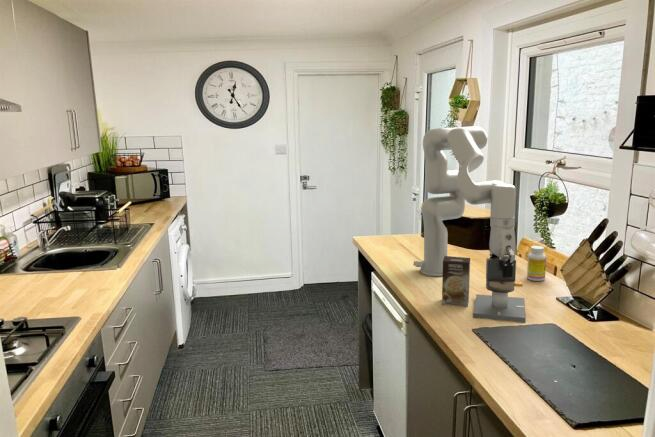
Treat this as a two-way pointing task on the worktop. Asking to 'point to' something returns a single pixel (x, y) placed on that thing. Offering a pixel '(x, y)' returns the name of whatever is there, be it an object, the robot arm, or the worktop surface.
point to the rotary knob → (499, 277)
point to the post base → (505, 312)
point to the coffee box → (456, 281)
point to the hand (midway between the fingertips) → (500, 272)
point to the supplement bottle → (536, 264)
